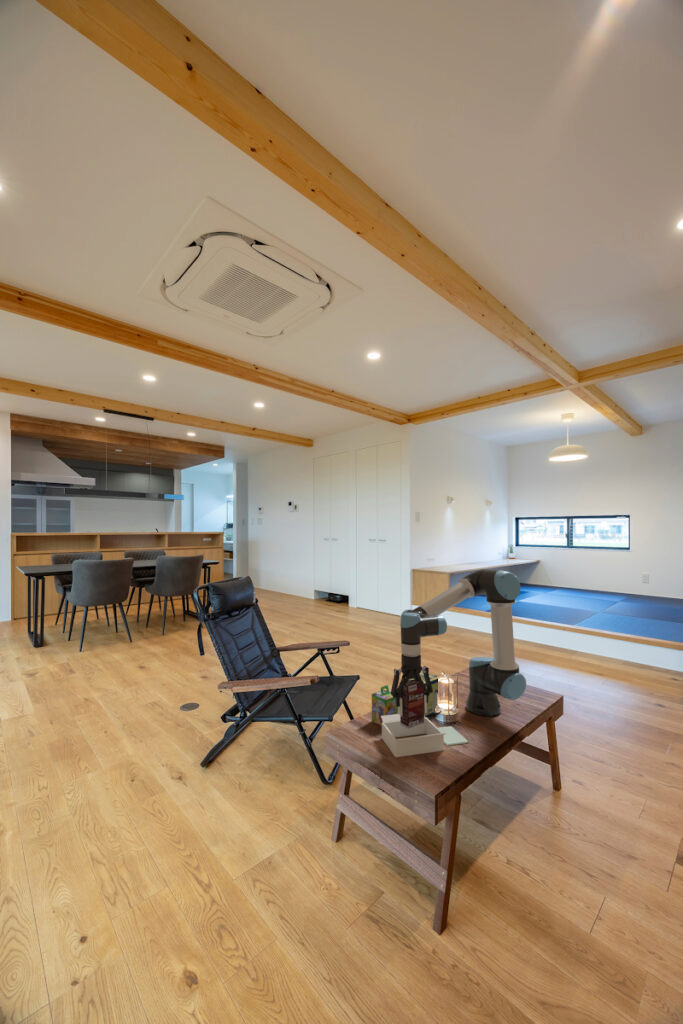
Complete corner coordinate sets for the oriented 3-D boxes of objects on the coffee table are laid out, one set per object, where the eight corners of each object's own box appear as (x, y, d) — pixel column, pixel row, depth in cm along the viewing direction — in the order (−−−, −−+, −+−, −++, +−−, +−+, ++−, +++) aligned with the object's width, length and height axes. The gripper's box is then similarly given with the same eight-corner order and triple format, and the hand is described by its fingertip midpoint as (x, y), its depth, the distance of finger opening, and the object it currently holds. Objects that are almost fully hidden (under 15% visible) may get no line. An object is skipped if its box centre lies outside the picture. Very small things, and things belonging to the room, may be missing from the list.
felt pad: (451, 727, 167) (451, 726, 167) (468, 743, 154) (468, 741, 154) (431, 730, 165) (431, 728, 165) (447, 745, 152) (447, 744, 152)
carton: (423, 729, 165) (423, 710, 166) (447, 754, 146) (447, 733, 147) (379, 734, 161) (379, 715, 161) (398, 761, 141) (398, 739, 142)
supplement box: (408, 729, 150) (407, 686, 151) (400, 724, 154) (399, 682, 155) (425, 723, 154) (424, 681, 155) (416, 718, 158) (415, 677, 159)
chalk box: (386, 729, 166) (386, 692, 166) (370, 721, 173) (370, 686, 174) (401, 722, 171) (401, 687, 172) (385, 715, 178) (385, 681, 179)
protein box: (401, 713, 180) (401, 678, 181) (423, 704, 190) (423, 671, 191) (420, 721, 172) (419, 684, 173) (442, 711, 182) (441, 676, 183)
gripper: (432, 648, 162) (433, 705, 161) (380, 653, 157) (382, 712, 155) (441, 654, 155) (443, 713, 153) (387, 659, 149) (389, 721, 148)
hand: (412, 713), depth 154 cm, fingers closed on supplement box, 9 cm apart
